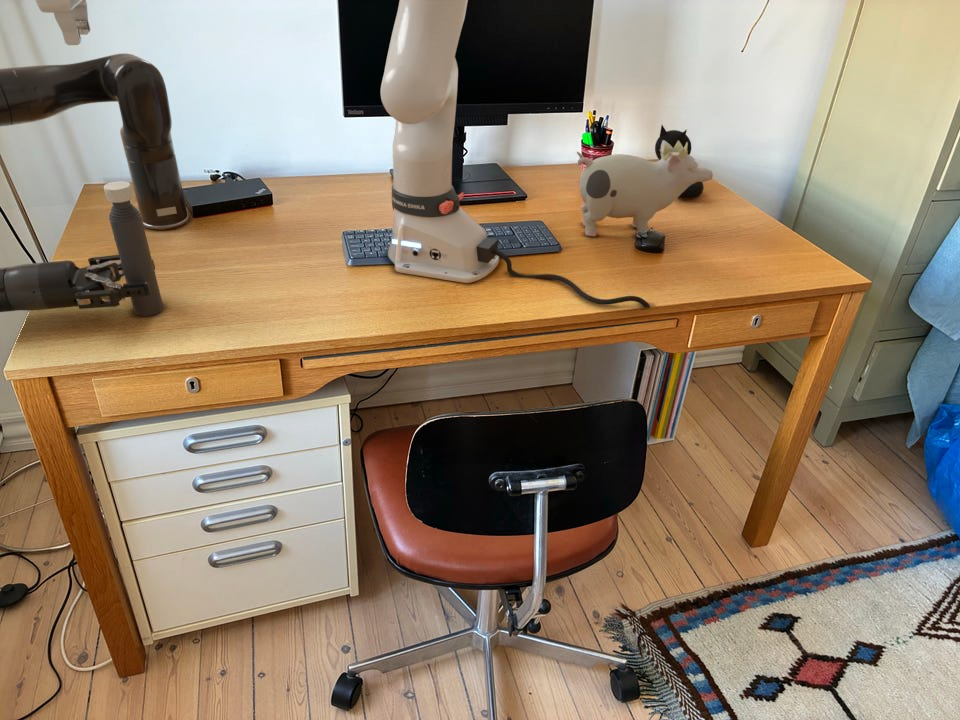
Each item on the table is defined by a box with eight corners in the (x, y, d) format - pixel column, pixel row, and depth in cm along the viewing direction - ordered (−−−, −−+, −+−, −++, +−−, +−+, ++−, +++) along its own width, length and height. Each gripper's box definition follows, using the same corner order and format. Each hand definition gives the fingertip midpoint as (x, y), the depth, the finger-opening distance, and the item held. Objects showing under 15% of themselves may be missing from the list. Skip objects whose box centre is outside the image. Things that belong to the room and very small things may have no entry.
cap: (103, 197, 111) (99, 184, 110) (129, 191, 114) (126, 179, 112) (110, 204, 109) (107, 191, 108) (137, 199, 111) (133, 186, 110)
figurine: (703, 243, 153) (724, 151, 141) (570, 238, 152) (580, 145, 141) (692, 224, 161) (711, 135, 150) (566, 219, 161) (576, 130, 150)
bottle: (130, 308, 123) (97, 186, 111) (158, 300, 125) (128, 180, 113) (139, 319, 120) (106, 195, 108) (167, 311, 122) (137, 189, 110)
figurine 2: (633, 187, 180) (643, 126, 171) (662, 174, 188) (673, 116, 180) (689, 205, 171) (702, 142, 162) (717, 191, 179) (731, 131, 171)
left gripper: (26, 285, 108) (142, 275, 112) (46, 246, 119) (150, 238, 123) (42, 328, 112) (153, 316, 116) (59, 286, 123) (160, 277, 127)
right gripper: (60, -73, 83) (92, 53, 91) (88, -83, 99) (113, 25, 107) (-1, -74, 82) (37, 55, 89) (37, -84, 98) (67, 26, 106)
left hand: (151, 276), depth 119 cm, fingers open, 8 cm apart
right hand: (79, 38), depth 98 cm, fingers open, 6 cm apart
